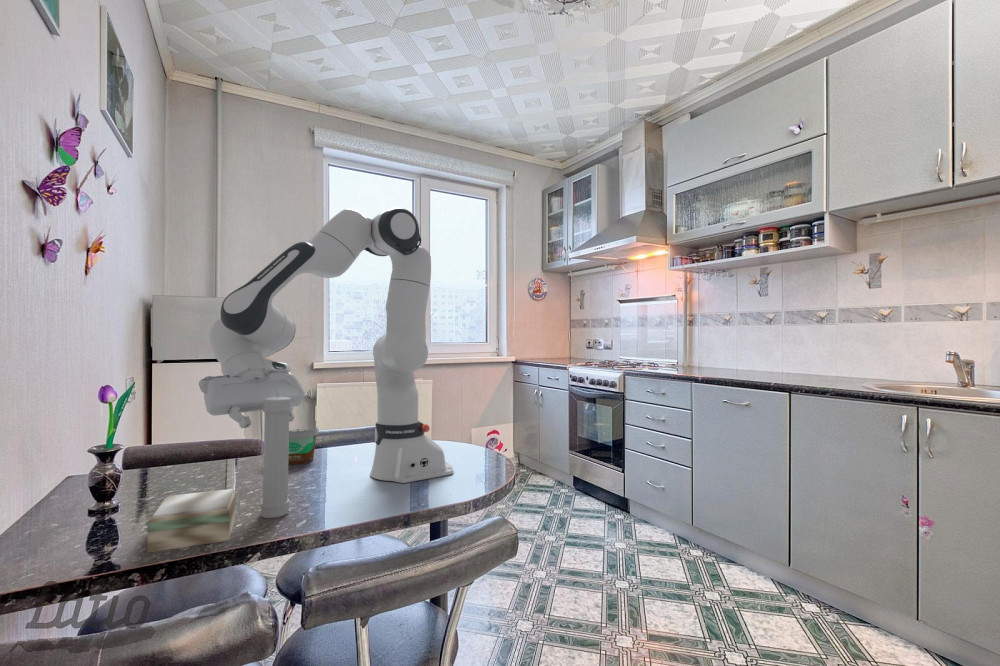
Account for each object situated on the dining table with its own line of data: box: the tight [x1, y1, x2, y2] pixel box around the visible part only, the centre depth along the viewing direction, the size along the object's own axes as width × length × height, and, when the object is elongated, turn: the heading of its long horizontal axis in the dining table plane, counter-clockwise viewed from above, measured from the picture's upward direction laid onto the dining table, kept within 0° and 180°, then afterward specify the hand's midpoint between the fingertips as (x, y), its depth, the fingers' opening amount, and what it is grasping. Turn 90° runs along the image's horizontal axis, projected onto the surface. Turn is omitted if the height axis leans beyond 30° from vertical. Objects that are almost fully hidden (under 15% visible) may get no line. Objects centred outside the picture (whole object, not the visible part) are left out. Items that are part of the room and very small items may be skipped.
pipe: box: [259, 371, 293, 519], centre depth 96 cm, size 6×6×30 cm
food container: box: [288, 426, 320, 466], centre depth 135 cm, size 12×6×10 cm, turn 114°
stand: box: [147, 488, 237, 553], centre depth 86 cm, size 12×12×6 cm
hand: (269, 423), depth 98 cm, fingers open, 8 cm apart
